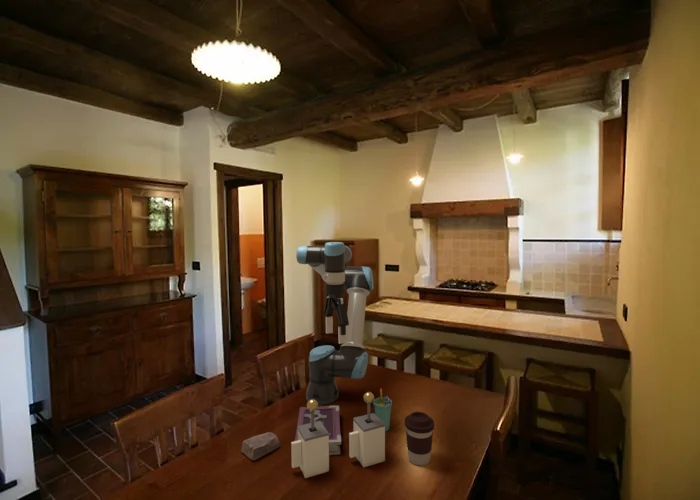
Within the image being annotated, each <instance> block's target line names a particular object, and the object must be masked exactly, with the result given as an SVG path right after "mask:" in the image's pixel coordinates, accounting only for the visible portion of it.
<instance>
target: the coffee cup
mask: <svg viewBox="0 0 700 500" xmlns="http://www.w3.org/2000/svg"><path fill="white" fill-rule="evenodd" d="M403 423H404V427H405V438H406V439H405V440H406V448H407V457H408V458H407V459H408V461H409V462H410V463H412V465H416V466H426V465H428V464H429V463H430V461H431V455H432V454H431V452H432V445H433V430H434V429H435V421H434V419H433V418H432V417H431V416H429V415H428V414H427V413H426V412H423V411H413V412H411V413H410V414H408V415H407V416H405V417H404V422H403Z"/></svg>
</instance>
